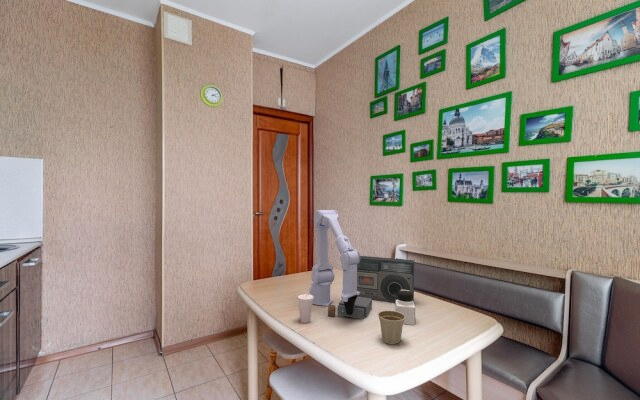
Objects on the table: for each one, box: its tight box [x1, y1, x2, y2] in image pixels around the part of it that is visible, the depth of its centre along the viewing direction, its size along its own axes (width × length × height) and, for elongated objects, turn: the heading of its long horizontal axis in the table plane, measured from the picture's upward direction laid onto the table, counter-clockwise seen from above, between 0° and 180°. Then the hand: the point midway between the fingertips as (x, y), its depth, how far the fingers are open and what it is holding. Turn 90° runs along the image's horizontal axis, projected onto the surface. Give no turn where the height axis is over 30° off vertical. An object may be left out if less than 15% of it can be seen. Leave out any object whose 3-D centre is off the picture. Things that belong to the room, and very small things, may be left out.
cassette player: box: [357, 255, 415, 304], centre depth 143 cm, size 29×7×20 cm, turn 68°
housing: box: [338, 297, 373, 319], centre depth 127 cm, size 12×12×4 cm
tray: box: [336, 304, 365, 320], centre depth 124 cm, size 12×11×4 cm
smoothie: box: [297, 285, 314, 324], centre depth 116 cm, size 6×6×14 cm
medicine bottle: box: [394, 290, 416, 326], centre depth 118 cm, size 7×7×12 cm
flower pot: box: [377, 310, 405, 345], centre depth 101 cm, size 9×9×9 cm
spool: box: [327, 304, 337, 318], centre depth 122 cm, size 3×3×4 cm
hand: (349, 313), depth 118 cm, fingers closed
